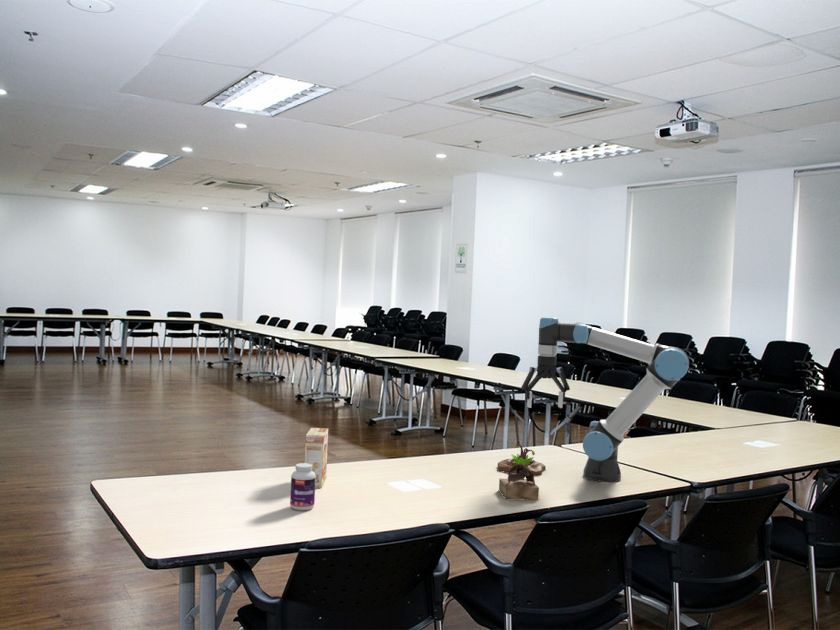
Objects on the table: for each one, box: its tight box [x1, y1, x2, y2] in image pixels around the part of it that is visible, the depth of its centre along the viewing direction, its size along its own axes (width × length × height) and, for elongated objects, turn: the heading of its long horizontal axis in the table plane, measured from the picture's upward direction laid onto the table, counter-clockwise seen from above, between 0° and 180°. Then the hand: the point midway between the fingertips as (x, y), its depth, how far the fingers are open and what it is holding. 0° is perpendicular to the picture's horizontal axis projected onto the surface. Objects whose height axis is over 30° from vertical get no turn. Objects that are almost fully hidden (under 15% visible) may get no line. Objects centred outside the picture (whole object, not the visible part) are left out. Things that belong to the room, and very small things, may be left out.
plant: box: [497, 443, 546, 477], centre depth 305 cm, size 20×20×11 cm
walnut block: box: [498, 478, 540, 501], centre depth 265 cm, size 12×12×5 cm
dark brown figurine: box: [507, 464, 536, 485], centre depth 265 cm, size 12×10×8 cm
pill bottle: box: [289, 462, 316, 512], centre depth 239 cm, size 8×8×14 cm
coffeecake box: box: [304, 427, 329, 489], centre depth 271 cm, size 15×7×20 cm, turn 0°
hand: (544, 407), depth 292 cm, fingers open, 13 cm apart
